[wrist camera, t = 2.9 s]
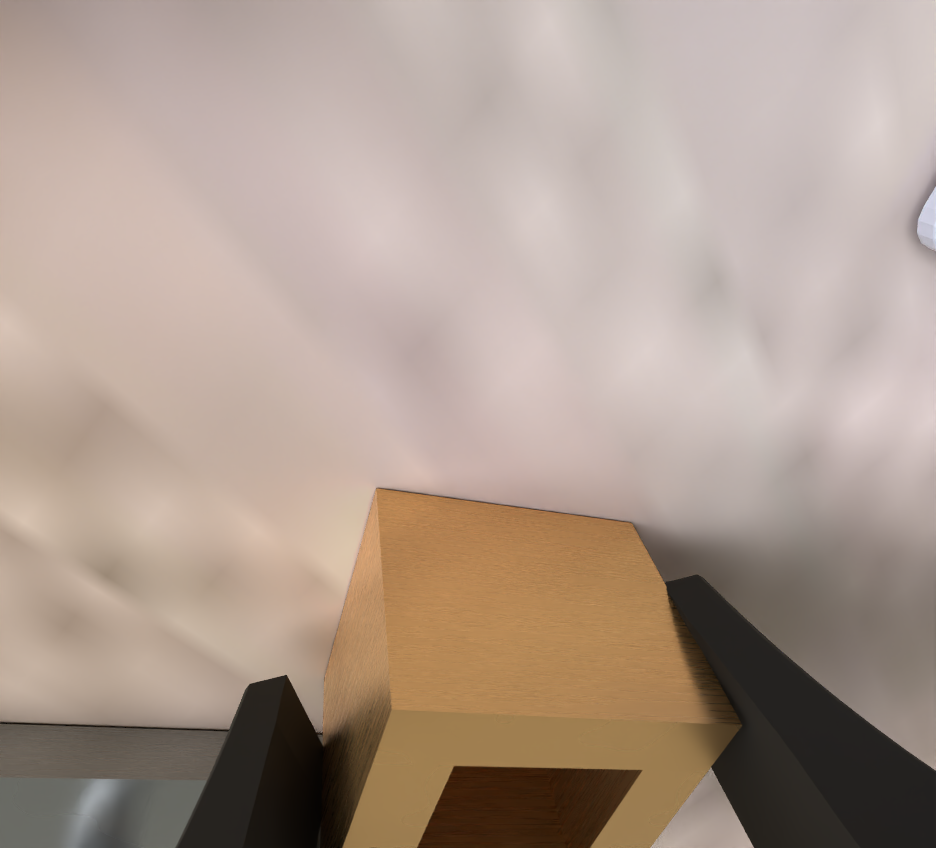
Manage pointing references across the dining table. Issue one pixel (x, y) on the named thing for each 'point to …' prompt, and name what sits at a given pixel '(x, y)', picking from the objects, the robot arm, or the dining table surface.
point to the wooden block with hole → (510, 685)
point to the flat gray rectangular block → (101, 785)
